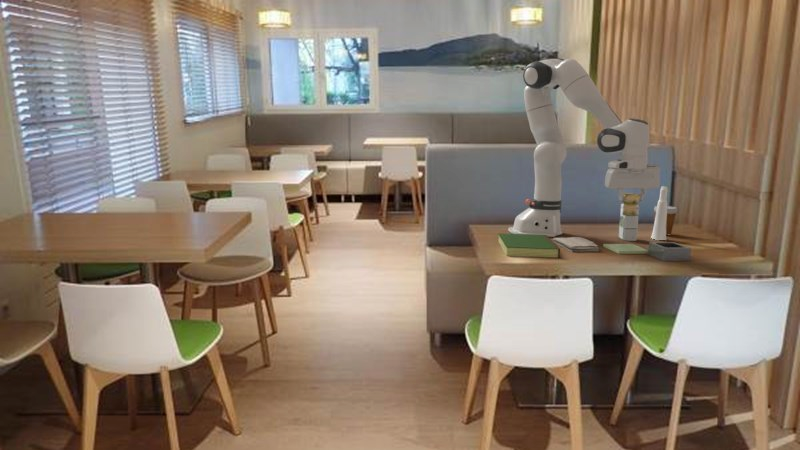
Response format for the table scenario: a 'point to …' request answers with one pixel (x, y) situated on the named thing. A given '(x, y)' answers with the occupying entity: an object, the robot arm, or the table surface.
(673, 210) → the disposable coffee cup
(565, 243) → the washcloth
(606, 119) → the robot arm
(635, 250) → the pad
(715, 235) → the table surface
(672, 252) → the box
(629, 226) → the syrup box
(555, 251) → the hardcover book
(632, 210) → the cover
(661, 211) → the cosmetic bottle
